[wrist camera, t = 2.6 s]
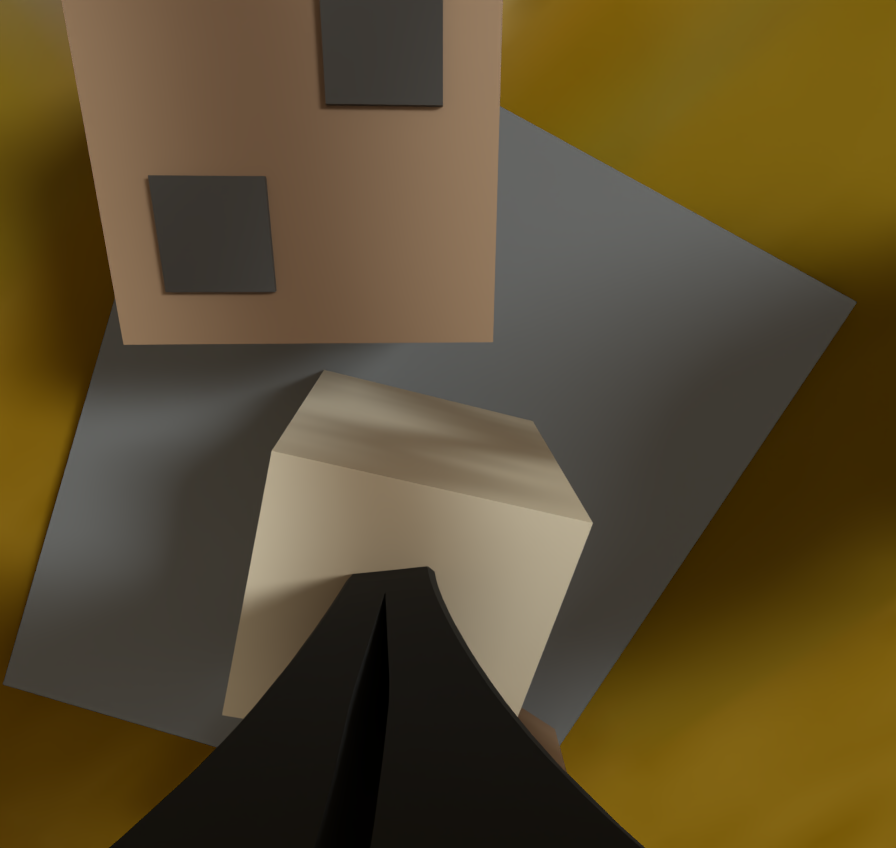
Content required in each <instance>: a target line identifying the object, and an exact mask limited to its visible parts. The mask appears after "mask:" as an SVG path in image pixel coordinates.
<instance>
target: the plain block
mask: <svg viewBox="0 0 896 848" xmlns="http://www.w3.org/2000/svg"><path fill="white" fill-rule="evenodd" d="M592 524H593V522H592V521H591V519H590V517H589V516H588V514H587V512H586V510H585V509H584V507H583V505H582V504H581V502H580V500H579V499H578V497H577V495H576V493H575V492H574V490H573V488H572V487H571V485H570V483H569V482H568V480H567V478H566V477H565V475H564V473H563V471H562V470H561V468H560V466H559V465H558V463H557V461H556V460H555V458H554V456H553V454H552V453H551V451H550V449H549V448H548V446H547V444H546V443H545V441H544V439H543V438H542V436H541V434H540V432H539V431H538V429H537V427H536V426H535V424H534V422H533V421H530V420H526V419H522V418H518V417H514V416H510V415H506V414H502V413H498V412H494V411H490V410H486V409H482V408H477V407H473V406H469V405H465V404H461V403H457V402H453V401H449V400H445V399H441V398H437V397H433V396H429V395H425V394H421V393H416V392H412V391H408V390H404V389H400V388H396V387H392V386H388V385H384V384H380V383H376V382H372V381H368V380H364V379H360V378H355V377H351V376H347V375H343V374H339V373H335V372H331V371H327V370H324V371H323V372H322V374H321V376H320V377H319V379H318V380H317V382H316V383H315V385H314V386H313V388H312V389H311V391H310V392H309V394H308V396H307V397H306V399H305V400H304V402H303V403H302V405H301V406H300V408H299V409H298V411H297V413H296V414H295V416H294V417H293V419H292V420H291V422H290V423H289V425H288V426H287V428H286V430H285V431H284V433H283V434H282V436H281V437H280V439H279V440H278V442H277V443H276V445H275V446H274V448H273V450H272V452H271V457H270V462H269V468H268V473H267V478H266V484H265V489H264V494H263V500H262V505H261V510H260V516H259V521H258V526H257V532H256V537H255V542H254V548H253V553H252V558H251V564H250V569H249V574H248V580H247V585H246V590H245V595H244V601H243V606H242V611H241V617H240V622H239V627H238V633H237V638H236V643H235V649H234V654H233V659H232V665H231V670H230V675H229V681H228V686H227V691H226V697H225V702H224V707H223V712H222V715H224V716H230V717H236V718H242V719H244V717H245V716H246V715H247V714H248V713H249V712H250V711H251V710H252V708H253V707H254V706H255V705H256V704H257V702H258V701H259V700H260V699H261V697H262V696H263V695H264V694H265V693H266V691H267V690H268V689H269V688H270V686H271V685H272V684H273V683H274V682H275V680H276V679H277V678H278V677H279V675H280V674H281V673H282V672H283V671H284V669H285V668H286V667H287V666H288V664H289V663H290V662H291V660H292V659H293V658H294V656H295V655H296V654H297V652H298V651H299V650H300V648H301V647H302V645H303V644H304V643H305V641H306V640H307V639H308V637H309V636H310V634H311V633H312V632H313V630H314V629H315V628H316V626H317V625H318V623H319V622H320V620H321V619H322V617H323V616H324V614H325V613H326V612H327V610H328V609H329V607H330V606H331V604H332V603H333V601H334V600H335V598H336V596H337V595H338V593H339V592H340V590H341V589H342V587H343V586H344V584H345V582H346V581H347V580H348V579H349V578H350V576H351V575H352V574H357V573H367V572H377V571H387V570H397V569H406V568H415V567H424V566H428V567H429V568H431V569H432V570H433V571H435V576H436V580H437V584H438V587H439V590H440V592H441V595H442V598H443V600H444V602H445V604H446V606H447V609H448V611H449V613H450V615H451V617H452V619H453V621H454V623H455V625H456V626H457V628H458V630H459V632H460V633H461V635H462V637H463V638H464V640H465V642H466V644H467V645H468V647H469V649H470V651H471V652H472V654H473V655H474V657H475V658H476V660H477V662H478V663H479V665H480V666H481V668H482V669H483V671H484V672H485V673H486V675H487V676H488V678H489V679H490V681H491V682H492V684H493V685H494V687H495V688H496V689H497V691H498V692H499V693H500V695H501V696H502V697H503V699H504V700H505V701H506V703H507V704H508V705H509V707H510V708H511V709H512V711H513V712H514V713H515V714H516V716H517V717H518V715H519V712H520V710H521V707H522V705H523V702H524V699H525V697H526V694H527V692H528V689H529V687H530V684H531V681H532V679H533V676H534V674H535V671H536V669H537V666H538V663H539V661H540V658H541V656H542V653H543V651H544V648H545V645H546V643H547V640H548V638H549V635H550V633H551V630H552V627H553V625H554V622H555V620H556V617H557V615H558V612H559V609H560V607H561V604H562V602H563V599H564V597H565V594H566V591H567V589H568V586H569V584H570V581H571V578H572V576H573V573H574V571H575V568H576V566H577V563H578V560H579V558H580V555H581V553H582V550H583V548H584V545H585V542H586V540H587V537H588V535H589V532H590V530H591V527H592Z"/></svg>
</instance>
